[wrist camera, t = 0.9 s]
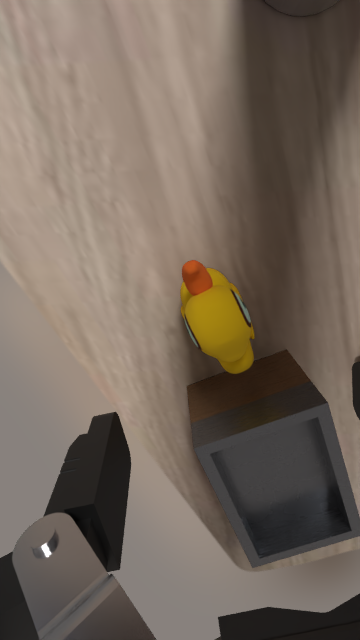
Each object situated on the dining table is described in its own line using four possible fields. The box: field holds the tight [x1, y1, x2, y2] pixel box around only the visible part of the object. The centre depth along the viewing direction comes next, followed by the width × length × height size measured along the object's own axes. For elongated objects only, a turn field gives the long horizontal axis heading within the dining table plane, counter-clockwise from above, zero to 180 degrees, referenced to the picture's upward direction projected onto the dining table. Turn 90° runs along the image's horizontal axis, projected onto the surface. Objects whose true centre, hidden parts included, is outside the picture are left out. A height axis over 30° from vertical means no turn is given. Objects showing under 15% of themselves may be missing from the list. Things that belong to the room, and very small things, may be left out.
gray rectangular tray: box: [187, 350, 360, 568], centre depth 32 cm, size 11×16×9 cm
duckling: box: [180, 260, 254, 374], centre depth 26 cm, size 11×5×10 cm, turn 27°
